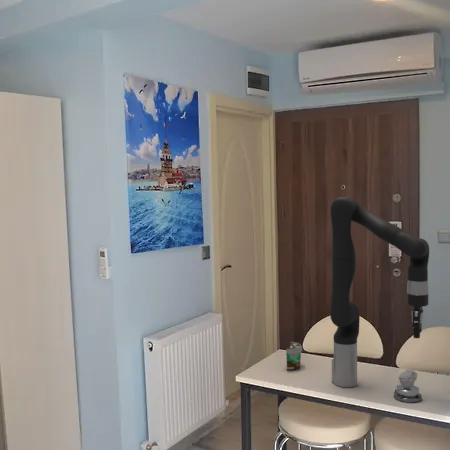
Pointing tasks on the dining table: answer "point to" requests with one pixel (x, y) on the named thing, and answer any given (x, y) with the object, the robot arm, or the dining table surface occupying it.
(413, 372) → the frog figurine
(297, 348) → the food container
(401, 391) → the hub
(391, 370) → the dining table surface
